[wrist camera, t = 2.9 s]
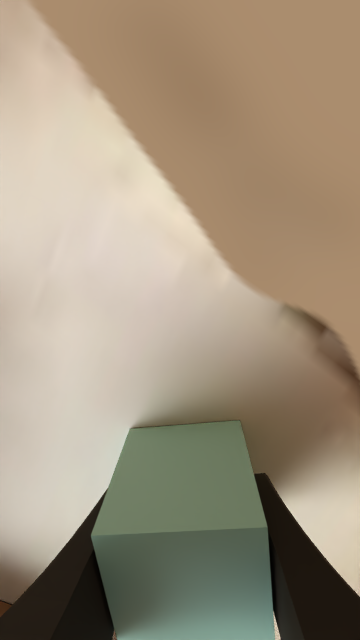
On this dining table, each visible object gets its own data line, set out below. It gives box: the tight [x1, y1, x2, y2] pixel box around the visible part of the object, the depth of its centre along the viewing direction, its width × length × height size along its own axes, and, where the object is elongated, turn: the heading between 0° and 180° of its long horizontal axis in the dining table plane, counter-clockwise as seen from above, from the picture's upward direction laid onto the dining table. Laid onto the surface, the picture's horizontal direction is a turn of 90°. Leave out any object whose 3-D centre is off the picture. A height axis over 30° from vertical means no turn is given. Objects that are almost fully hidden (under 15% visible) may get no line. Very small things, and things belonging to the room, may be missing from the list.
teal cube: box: [91, 420, 275, 640], centre depth 10 cm, size 4×4×4 cm
